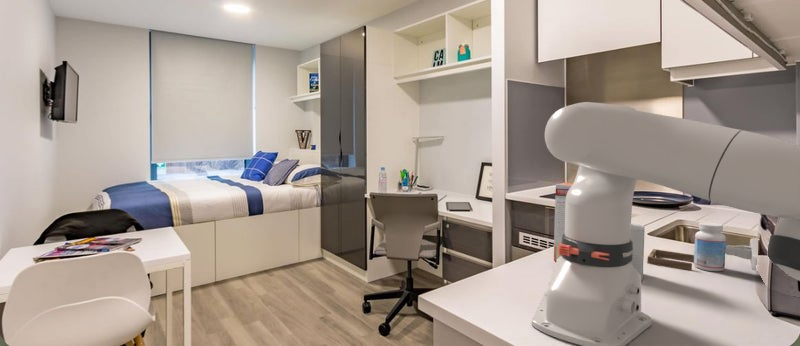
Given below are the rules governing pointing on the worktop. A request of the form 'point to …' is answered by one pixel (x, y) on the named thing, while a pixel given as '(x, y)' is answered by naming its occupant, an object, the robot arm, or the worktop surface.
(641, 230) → the skincare box
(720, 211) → the worktop surface
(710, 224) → the pill bottle
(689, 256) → the stop
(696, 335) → the worktop surface
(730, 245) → the robot arm
